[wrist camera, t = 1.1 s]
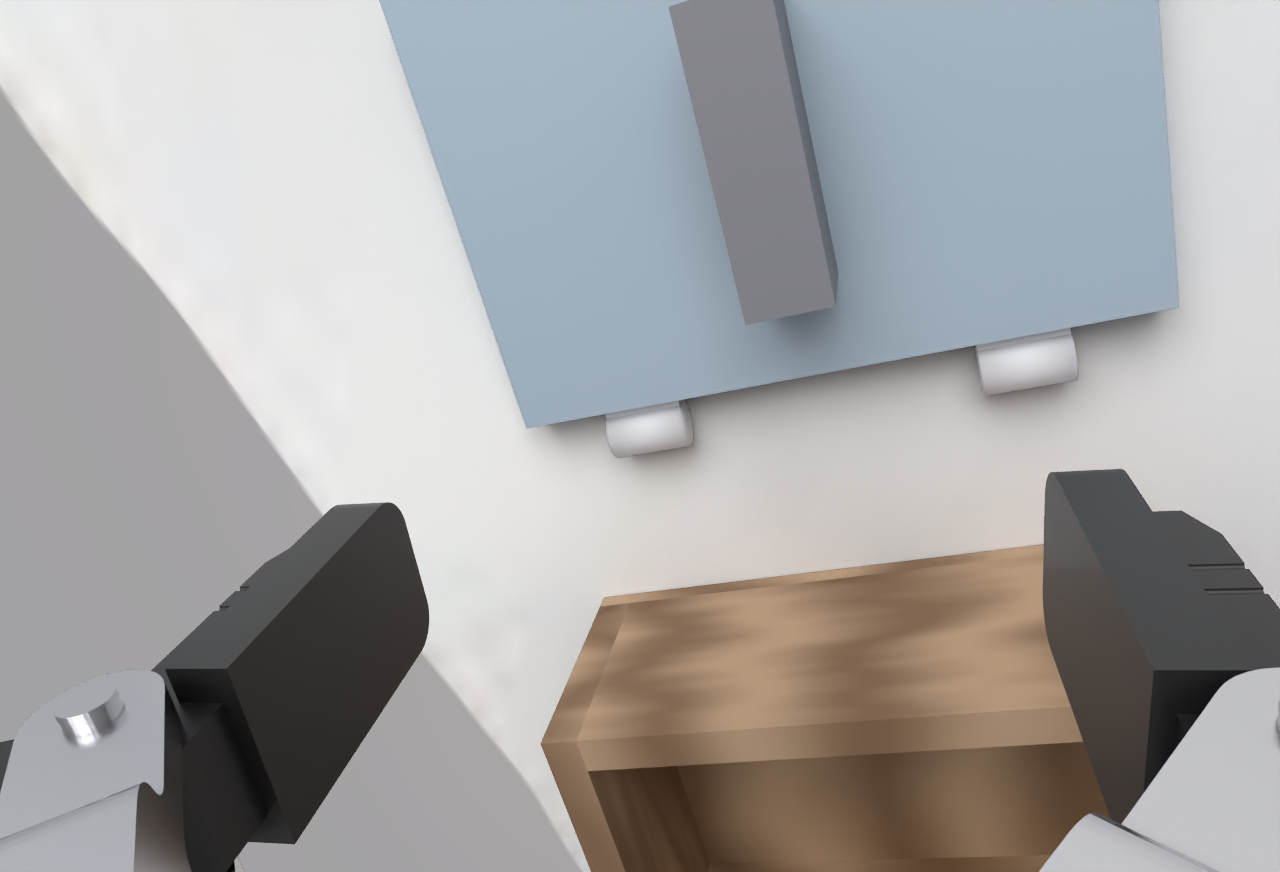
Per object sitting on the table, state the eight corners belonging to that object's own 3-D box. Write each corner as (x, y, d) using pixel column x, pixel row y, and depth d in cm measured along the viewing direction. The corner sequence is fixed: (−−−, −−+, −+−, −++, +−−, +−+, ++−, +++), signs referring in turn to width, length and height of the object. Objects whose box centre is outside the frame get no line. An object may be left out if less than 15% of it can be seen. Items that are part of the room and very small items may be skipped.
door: (1120, -266, 22) (1191, -345, 17) (1166, 352, 27) (1229, 420, 23) (401, -7, 28) (309, -13, 23) (557, 458, 33) (508, 528, 29)
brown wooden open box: (1179, 528, 29) (1339, 783, 20) (1205, 889, 35) (1339, 1226, 25) (604, 597, 35) (507, 819, 26) (705, 896, 41) (658, 1171, 31)
